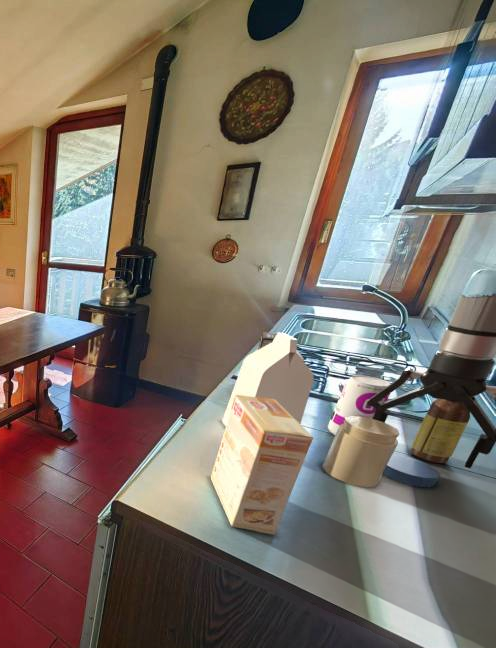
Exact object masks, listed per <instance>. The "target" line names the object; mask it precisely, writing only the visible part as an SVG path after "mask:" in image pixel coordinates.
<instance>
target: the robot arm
mask: <svg viewBox="0 0 496 648" xmlns="http://www.w3.org/2000/svg"><path fill="white" fill-rule="evenodd" d="M445 328H446V329H445V330H444V332H443V335H442V336H441V339H440V342H439V344H438V345H437V348H438V351H436V352H435V353H434V354H433V356H432V359H431V361H430V364H429V366H428V367H427V370H426V371H425V372H419V371H416V370H414V369H413V368H411V367H407V368H406V367H405V369H404V370H403V371H402V372H401V374H400V375H399V377H398V378H396V379H395V380H394V381H393V382H391V383H390V385H388V386H387V387H386V388H384V389H383V390H381V391H380V392H379V393H377V394H376V395H375V396H373V397H372V398H370V399H369V400H368V401H367V404H368V405H369V406H372V407H374V408H375V409H376V411H375V414H374V416H373V419H374V420H378V421H381V422H384V423H386V421H387V419H388V416H389V414H390V412H391V410H390V409H392V408H394V407H396V406H399V405H402V404H404V403H407V402H410V401H412V400H415V399H417V398H421V397H423V396H426V395H428V396H430V397H431V398H432V399H435V400H436V399H445V400H447V401H450V402H454V403H455V402H463V403H464V405H465V406H466V407H467V408H468V410H469V411H470V415H471V416H472V417H473V418H474V420H475V421H476V423H477V424H478V426H479V427H480V429H481V430H482V431H483V433H481V434H480V436H478V437H479V438H478V439H477V441H476V443H475V445H474V446H473V448H472V450H471V452H470V454H469V455H468V457H467V459H466V462H465V464H464V468H467V469H471V468H472V467H473V464H474V463H475V462H476V459H477V458H478V456H479V454H482V455H485V456H486V455H489V454H490V453H491V452H492V450H493V448H494V446H495V444H496V426H495V425H494V423H493V422H492V421H491V419H490V418H489V416H488V415H487V413H486V412H485V411H484V409H483V408H482V406H481V405H480V404H479V402H478V399H477V398H476V396H478V395H480V394H483V393H487V394H488V395H489V398H491V399H495V401H494V403H495V405H496V386H494V385H487V384H486V382H487V379H488V378H489V375H490V374H491V372H492V370H493V368H494V367H495V364H496V361H495V359H496V268H484V269H479V270H477V271H475V272H474V273H473V274H472V275H471V276H470V278H469V280H468V281H467V283H466V284H465V287H464V289H463V290H462V291H461V292H460V297H459V299H458V302H457V303H456V307H455V309H454V311H453V314H452V316H451V318H450V320H449V323H448V325H447V327H445ZM415 379H419V381H420V382H421V384H422V386H419V387H417V388H415V389H413V390H410V391H408V392H406V393H403V394H400V395H398V396H396V397H393V398H390V399H388V400H387V401H386V402H383V403H381V402H380V400H381V399H383V398H384V397H386V396H387V395H388V394H390V395H391V394H392V393H393V392H395V391H396V390H397V389H398V388H400V387H402V386H403V385H404V384H406V382H413V381H414V380H415Z"/></svg>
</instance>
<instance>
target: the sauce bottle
mask: <svg viewBox="0 0 496 648" xmlns="http://www.w3.org/2000/svg"><path fill="white" fill-rule="evenodd" d="M470 419H471V412H470V411H469V410H468V408H467V407H466V406H465V405H464V403H463V402H455V403H454V402H450V401H447V400H445V399H436V398H435V399H434V400H433V401H432V402H431V403H430V406H429V408H428V410H427V412H426V414H425V416H424V418H423V420H422V422H421V423H420V424H421V425H420V426H419V429H418V431H417V433H416V435H415V438H414V439H413V443H412V444H411V449H410V453H411V454H412V455H414V456H415V457H417V458H419V459H421V460H424V461H426V462H431V463H435V464H446V463H448V462H449V461H450V458H452V457H453V455H454V452H455V450H456V448H457V446H458V444H459V442H460V440H461V438H462V436H463V435H464V432H465V430H466V429H467V426H468V424H469V422H470Z"/></svg>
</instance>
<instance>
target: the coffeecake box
mask: <svg viewBox="0 0 496 648" xmlns="http://www.w3.org/2000/svg"><path fill="white" fill-rule="evenodd" d="M313 440H314V436H313V435H312V434H311V433H309V432H308V430H307V429H305V427H303V425H302V424H299V423H298V422H297V421H296V420H295V419H294V418H293V417H292V416H291V415H290V414H289V413H288V412H287V411H286V410H285V409H284V408H283V407H282V406H281V405H280V404H279V403H278V402H277V401H276V400H275V399H269V398H261V397H251V396H243V395H235V398H234V402H233V405H232V408H231V412H230V415H229V418H228V422H227V425H226V426H225V428H224V432H223V435H222V439H221V442H220V446H219V449H218V453H217V454H216V455H217V456H216V458H215V462H214V466H213V469H212V472H211V475H210V476H211V477H210V480H211V483H212V485H213V487H214V490H215V492H216V494H217V497H218V499H219V502H220V504H221V507H222V508H223V511H224V512H225V515H226V517H227V520H228V522H229V524H230V526H231V528H236V529H237V528H238V529H243V530H249V531H253V532H257V533H262V534H267V535H273V536H275V535H276V531H277V530H278V527H279V524H280V522H281V520H282V517H283V515H284V512H285V510H286V506H287V504H288V502H289V499H290V497H291V494H292V492H293V489H294V487H295V484H296V482H297V479H298V477H299V474H300V472H301V470H302V467H303V465H304V462H305V459H306V458H307V455H308V454H307V453H308V451H309V449H310V448H311V444H312V442H313Z"/></svg>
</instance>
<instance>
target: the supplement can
mask: <svg viewBox="0 0 496 648" xmlns="http://www.w3.org/2000/svg"><path fill="white" fill-rule="evenodd" d="M390 384H391V383H390V382H388V381H386V380H384V379H382V378H378V377H373V376H370V375H369V376H368V375H359V374H358V375H357V374H355V375H352V376H351V377H350V378H348V379H347V380H346V381H345V383H344V385H343V388H342V390H341V393H340V395H339V398H338V400H337V403H336V405H335V408H334V410H333V413H332V415H331V417H330V420H329V422H328V424H327V428H328V429H327V430H329V432H330V433H331V434H333V435H334V436H335V435H336V433H337V430H338V428H339V426H340V425H341V424H344V420H345V418H346V417H351V416H358V417H365V418H370V419H373V416H374V414H375V411H376V409H375V408H374V407H372V406H369V405H368V404H367V401H368V400H369V399H370V398H372V397H373V396H375V395H376V394H377V393H379V392H380V391H381V390H383V389H384V388H386V387H387V386H388V385H390ZM390 395H391V393H390V394H388V395H387V396H386V397H384V398H383V399H381V400H380V402H381V403H383V402H386V401H388V400H389V398H390Z"/></svg>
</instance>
